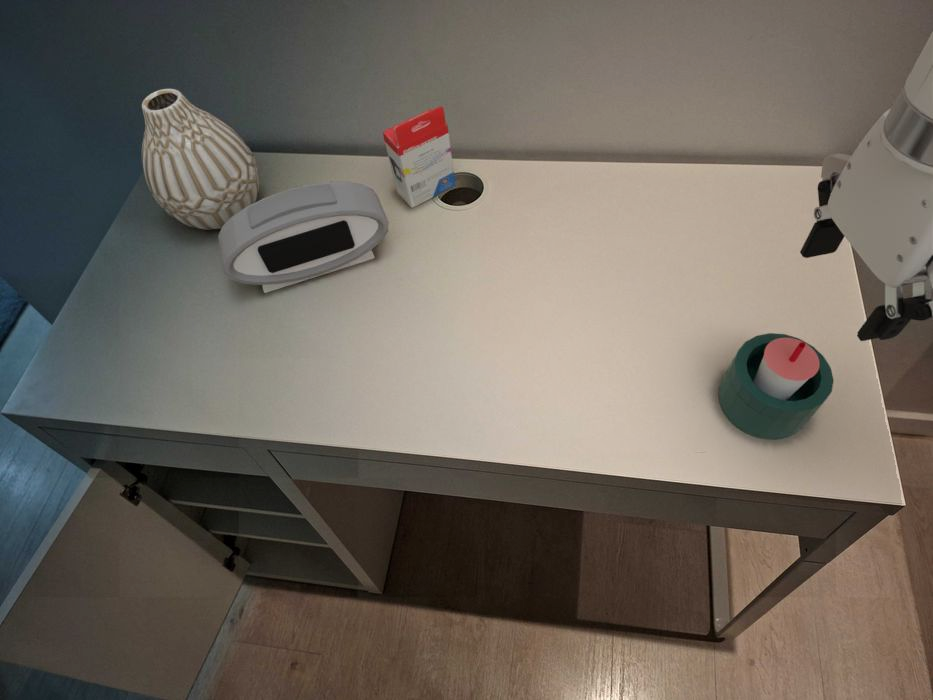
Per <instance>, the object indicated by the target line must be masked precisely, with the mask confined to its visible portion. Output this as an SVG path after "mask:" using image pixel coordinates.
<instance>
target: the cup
mask: <svg viewBox="0 0 933 700" xmlns="http://www.w3.org/2000/svg"><path fill="white" fill-rule="evenodd" d="M804 342H805V341H804ZM804 342H802V341H800V340H797V339H793V338H778V339H775V340H773V341H771V342H770V343H769V344H768V345H767V346H766V348H765V351H764V356H763V359H762V361H761V364H760V366H759V369H758V371H757V374H756V376H755V379H754V382H753V383H754V384H755V385H756V386H757V387H758V388H759V389H760V390H761V391H763V392H765V393H766V394H768V395H769V396H771V397H774V398H777V399H780V400H787V399H788V398H789V397H790V396H791V395H793V394H794V393H795V392H796V391H797V390H798V389H799V388H800V387H801V386H802V385H803V384H804V383H805V382H806V381H807V380H808V379H810V378H811V377H813V376H814V375H815V374H816V373H817V372H818V370H819V365H820V363H819V358H818V356H817V354H816V352H815V351H814V350H813V349H812V348H811V347H810V346H809V345H807V344H806V343H807V342H806V343H804Z"/></svg>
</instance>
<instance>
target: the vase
mask: <svg viewBox="0 0 933 700" xmlns="http://www.w3.org/2000/svg"><path fill="white" fill-rule="evenodd" d="M141 110H142V114H143V118H144V126H145V127H144V131H143V137H142V145H141V166H142V171H143V176H144V178H145V182H146V184H147V187H148V190H149V192H150V194H151V196H152V198H153V199H154V200H155V201H156V203H157V204H158V205H159V206H160V208H162V210H164V212H166V214H168V215H169V216H170V217H171V218H173V219H174V220H175V221H178V222H180V223H182V224H183V225H186V226H188V227H191V228H195V229H199V230H207V231H208V230H221V228H222V226H223V225H224V224H225V223H226V222H227V221H228V220H229V219H230V218H231V217H232V216H234V215H235V214H237V213H238V212H240V211H241V210H243V209H244V208H246V207H247V206H249V205H251V204H253V203H255V202H257V198H258V194H259V190H260V173H259V168H258V165H257V162H256V158H255V157H254V153H253V152H252V151H251V149H250V147H249V146H248V144H247V143H246V142H245V141H244V140H243V138H242V137H241V136H240V134H238V133H237V132H236V131H235V130H234V129H233V128H232V127H231V126H230V125H228V124H227V123H226V122H225V121H223V120H221V119H220V118H218V117H217V116H215V115H213V114H211V113H210V112H208V111H205V110H204V109H202V108H199V107H198V106H196V105H195V104H194V103H192V102H191V101H190V100H189V99H188V98H187V97H186V96H185V95H184V94H183V93H182V92H181V91H180V90H178V89H175V88H162V89H158V90H156V91H154V92H151V93H150V94H148V95H147V96H145V98H144V99H143V100H142V103H141Z"/></svg>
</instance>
